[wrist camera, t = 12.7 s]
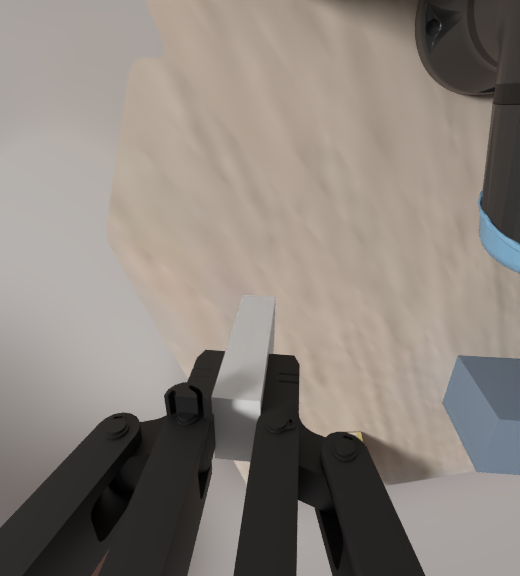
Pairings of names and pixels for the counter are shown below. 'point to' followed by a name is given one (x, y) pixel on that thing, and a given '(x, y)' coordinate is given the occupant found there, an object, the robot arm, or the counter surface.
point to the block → (487, 411)
